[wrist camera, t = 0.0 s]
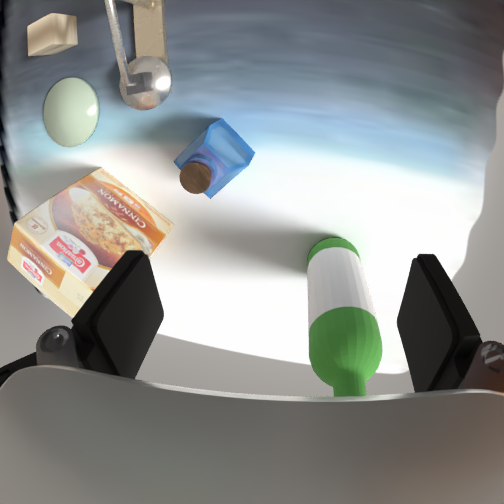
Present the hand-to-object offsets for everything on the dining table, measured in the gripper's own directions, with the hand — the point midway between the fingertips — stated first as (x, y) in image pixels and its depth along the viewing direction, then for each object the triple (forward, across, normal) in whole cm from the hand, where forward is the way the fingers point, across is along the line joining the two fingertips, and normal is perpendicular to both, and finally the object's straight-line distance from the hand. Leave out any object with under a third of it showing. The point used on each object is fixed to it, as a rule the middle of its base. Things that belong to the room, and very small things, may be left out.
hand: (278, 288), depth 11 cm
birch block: (+31, +32, -20) cm, 49 cm away
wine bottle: (+31, -6, +18) cm, 37 cm away
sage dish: (+31, +32, -7) cm, 45 cm away
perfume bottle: (+32, +9, +2) cm, 33 cm away
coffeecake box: (+32, +25, +10) cm, 41 cm away
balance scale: (+31, +17, -20) cm, 41 cm away
